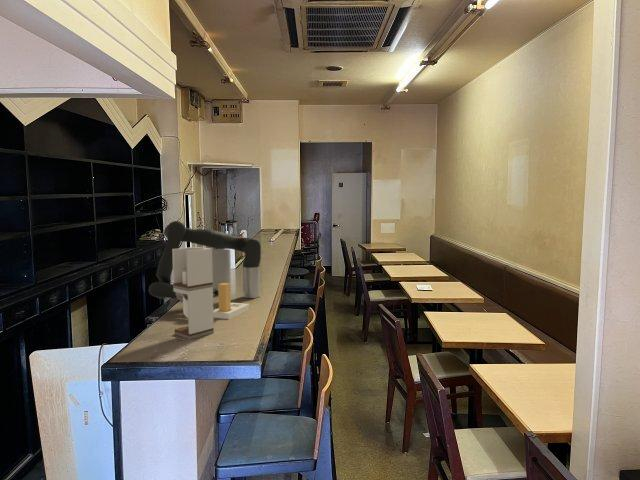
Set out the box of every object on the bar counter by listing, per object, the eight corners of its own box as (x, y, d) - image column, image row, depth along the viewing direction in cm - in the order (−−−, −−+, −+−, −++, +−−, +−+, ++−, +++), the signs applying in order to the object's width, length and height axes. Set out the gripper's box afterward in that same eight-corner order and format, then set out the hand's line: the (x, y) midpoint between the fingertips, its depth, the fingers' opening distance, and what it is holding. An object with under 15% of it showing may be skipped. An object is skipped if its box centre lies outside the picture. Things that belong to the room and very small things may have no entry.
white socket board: (231, 308, 230) (231, 302, 229) (249, 309, 227) (249, 304, 226) (209, 318, 211) (209, 311, 210) (229, 320, 208) (228, 313, 207)
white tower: (198, 328, 195) (196, 246, 191) (213, 332, 188) (211, 248, 185) (174, 334, 186) (172, 249, 183) (190, 339, 179) (187, 251, 176)
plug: (223, 314, 216) (222, 282, 215) (230, 314, 215) (230, 283, 214) (218, 316, 213) (218, 284, 211) (226, 316, 211) (225, 284, 210)
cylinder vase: (215, 295, 260) (215, 252, 258) (205, 292, 270) (204, 250, 267) (235, 292, 268) (234, 250, 266) (224, 289, 278) (223, 248, 276)
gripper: (178, 287, 212) (209, 289, 207) (196, 282, 226) (225, 284, 221) (179, 303, 213) (209, 306, 208) (196, 297, 226) (225, 299, 221)
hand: (217, 294), depth 214 cm, fingers open, 8 cm apart
